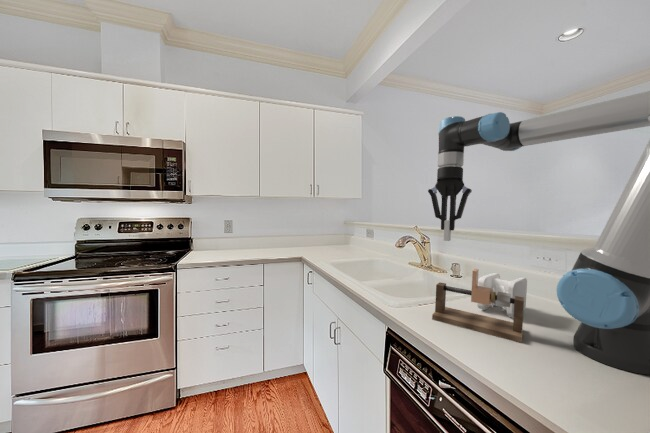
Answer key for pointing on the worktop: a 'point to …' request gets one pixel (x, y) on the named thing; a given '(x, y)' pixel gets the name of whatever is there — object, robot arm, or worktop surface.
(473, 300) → the tan wooden l-shaped block
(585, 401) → the worktop surface
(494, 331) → the brown rod stand
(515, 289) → the cable organizer
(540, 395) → the worktop surface
